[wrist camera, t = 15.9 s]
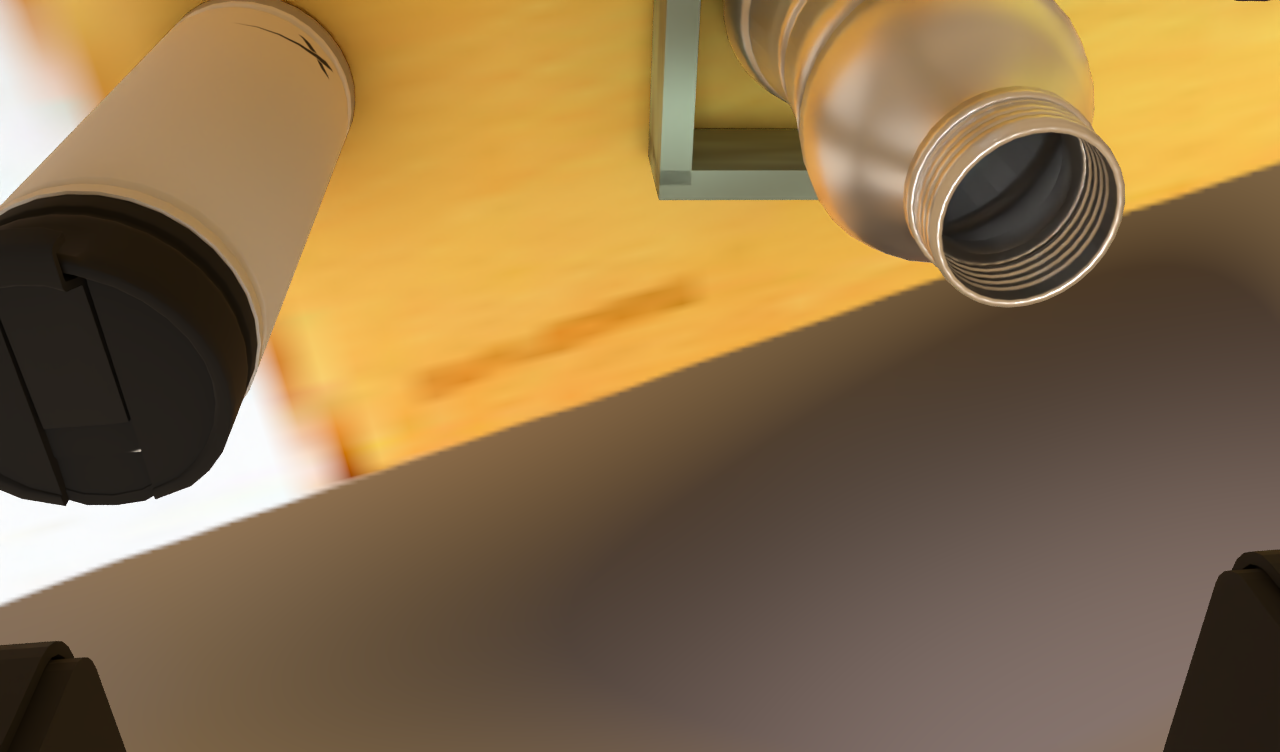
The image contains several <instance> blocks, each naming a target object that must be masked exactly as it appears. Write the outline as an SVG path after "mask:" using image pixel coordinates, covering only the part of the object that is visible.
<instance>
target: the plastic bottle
mask: <svg viewBox="0 0 1280 752" xmlns="http://www.w3.org/2000/svg"><path fill="white" fill-rule="evenodd" d="M724 22H725V27H726V32H727V37H728V40H729V42H730V45H731V47H732V49H733V52H734V54H735V56H736V58H737V59H738V61H739V62H740V64H741V65H742V67H743V68H744V69H745V71H746V72H747V73H748V74H749V75H750V76H751V77H752V78H753V79H754V80H755V81H756V82H757V83H759V84H760V85H761V86H762V87H763V88H765V89H766V90H767V91H769V92H770V93H771V94H773V95H775V96H776V97H778V98H780V99H782V100H783V101H785V102H787V103H788V104H789V105H790V106H791V109H792V110H793V113H794V115H795V118H796V120H797V126H798V131H799V138H800V144H801V150H802V156H803V161H804V164H805V166H806V169H807V172H808V175H809V177H810V180H811V182H812V185H813V187H814V190H815V192H816V195H817V197H818V200H819V201H820V202H821V204H822V205H823V207H824V208H825V210H826V211H827V212H828V214H829V215H830V217H831V218H832V220H834V221H835V222H836V223H837V224H838V225H839V226H840V227H841V228H842V229H844V230H845V231H846V232H847V233H848V234H849V235H850V236H852V237H854V238H856V239H857V240H859V241H861V242H863V243H865V244H866V245H868V246H870V247H872V248H874V249H877V250H879V251H881V252H884V253H886V254H889V255H892V256H896V257H899V258H902V259H906V260H909V261H920V262H931V263H933V264H934V265H935V266H936V267H938V268H939V270H940V271H941V273H942V274H943V276H944V277H945V279H946V280H947V281H948V282H949V283H950V284H951V285H953V286H954V287H955V288H956V289H957V290H958V291H960V292H961V293H962V294H964V295H965V296H967V297H969V298H971V299H972V300H974V301H976V302H980V303H983V304H986V305H990V306H997V307H1018V306H1026V305H1030V304H1034V303H1038V302H1041V301H1045V300H1047V299H1049V298H1051V297H1053V296H1055V295H1058V294H1060V293H1062V292H1064V291H1065V290H1067V289H1068V288H1070V287H1071V286H1073V285H1074V284H1075V283H1077V282H1079V281H1080V280H1081V279H1082V278H1083V277H1084V276H1085V275H1086V274H1087V273H1089V272H1090V271H1091V270H1092V269H1093V268H1094V267H1095V265H1096V264H1097V263H1098V262H1099V261H1100V259H1101V258H1102V257H1103V256H1104V254H1105V253H1106V252H1107V250H1108V248H1109V246H1110V245H1111V243H1112V241H1113V240H1114V238H1115V236H1116V233H1117V230H1118V228H1119V225H1120V222H1121V220H1122V215H1123V210H1124V204H1125V184H1124V180H1123V176H1122V172H1121V168H1120V166H1119V164H1118V162H1117V161H1116V159H1115V157H1114V155H1113V153H1112V151H1111V149H1110V148H1109V147H1108V146H1107V144H1106V143H1105V142H1104V141H1103V140H1102V139H1101V138H1100V137H1099V136H1098V135H1097V134H1096V133H1095V131H1094V130H1093V128H1092V121H1093V115H1094V86H1093V80H1092V76H1091V72H1090V68H1089V64H1088V60H1087V57H1086V54H1085V51H1084V48H1083V45H1082V42H1081V40H1080V38H1079V36H1078V34H1077V32H1076V30H1075V28H1074V26H1073V24H1072V22H1071V21H1070V19H1069V17H1068V16H1067V15H1066V14H1065V13H1064V12H1063V10H1062V9H1061V8H1060V7H1059V6H1058V5H1057V4H1056V2H1055V1H1054V0H724Z"/></svg>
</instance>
